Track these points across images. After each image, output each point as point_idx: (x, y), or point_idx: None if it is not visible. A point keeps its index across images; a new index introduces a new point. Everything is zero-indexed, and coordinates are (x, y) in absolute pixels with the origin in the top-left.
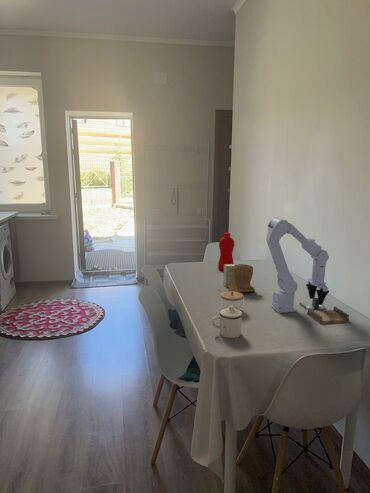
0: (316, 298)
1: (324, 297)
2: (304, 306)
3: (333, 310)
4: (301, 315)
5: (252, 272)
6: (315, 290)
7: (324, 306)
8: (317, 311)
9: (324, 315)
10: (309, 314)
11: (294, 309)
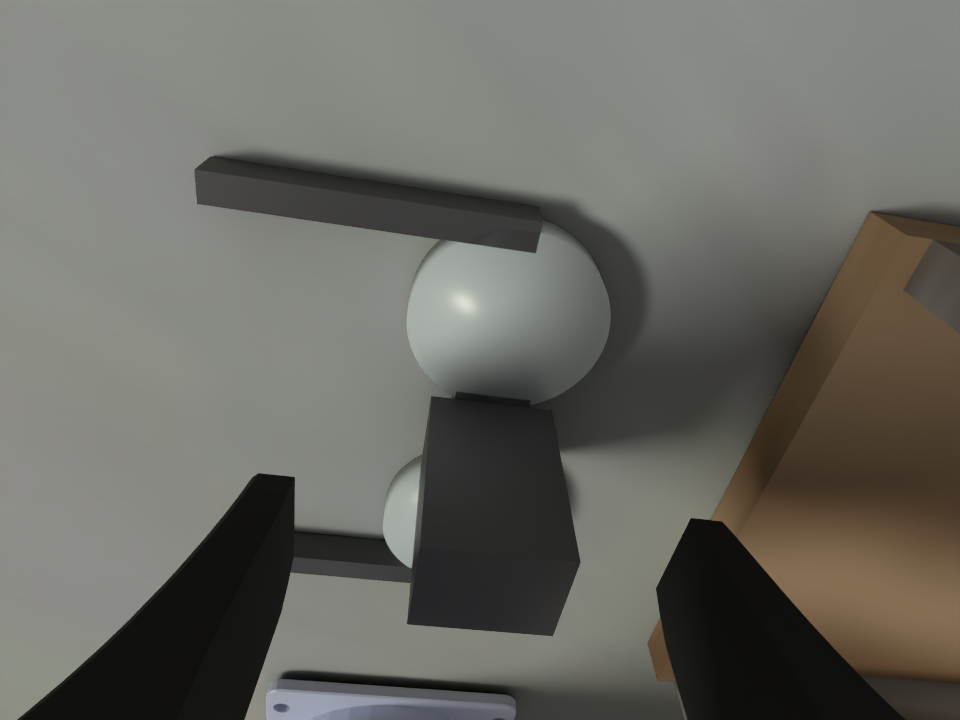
0: (471, 576)
1: (858, 707)
2: (407, 581)
3: (911, 292)
4: (638, 698)
5: None
6: (193, 700)
7: (549, 253)
8: None
9: (921, 574)
10: None
11: (463, 712)
